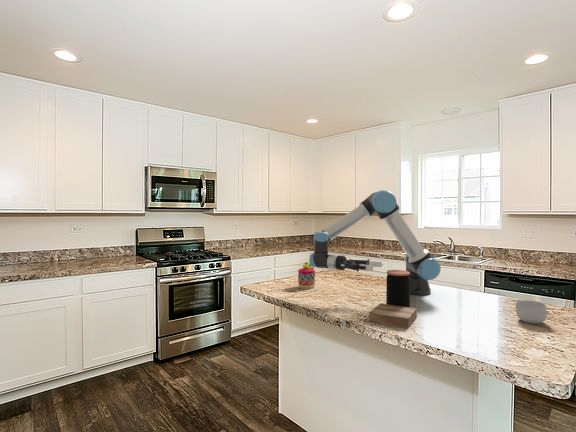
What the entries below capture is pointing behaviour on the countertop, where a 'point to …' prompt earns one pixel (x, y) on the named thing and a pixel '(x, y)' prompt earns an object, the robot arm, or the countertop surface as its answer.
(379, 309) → the walnut base block
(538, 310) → the teacup
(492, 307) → the countertop surface
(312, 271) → the cake
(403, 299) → the coffee jar
